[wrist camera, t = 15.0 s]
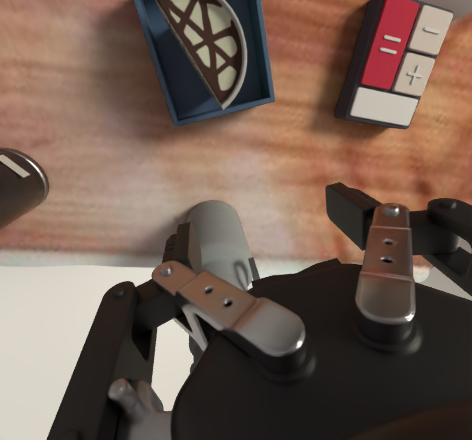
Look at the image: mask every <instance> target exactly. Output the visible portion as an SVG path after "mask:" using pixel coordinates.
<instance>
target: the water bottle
mask: <svg viewBox="0 0 472 440" xmlns="http://www.w3.org/2000/svg"><path fill="white" fill-rule="evenodd" d="M190 221H191V223H192V225H193V227H194V230H195V233H196V236H197V239H198V242H199V244H200V248H201V254H202V271H203V270H207V271H209V272H211V273H213V274H214V275H216V276H218V277H220V278H222V279H223V280H225V281H227V282H229V283H231V284H232V285H234V286H236V287H238V288H239V289H241V290H243V291H245V292H246V291H247V290H248V286H249V284H250V283H251V281H252V278H253V280H258V279H260V277H259V274H258V271H257V268H256V265H255V261H254V258H253V257H252V255H251V252H250V249H249V246H248V243H247V240H246V237H245V234H244V231H243V228H242V225H241V222H240V219H239V216H238V214H237V212H236V211H235V210H234V209H233V208H232V207H231V206H230V205H228V204H227V203H224V202H222V201H212V200H211V201H206V202H203V203H200V204H199V205H197V206H196V207H195V208H193V209H192V211H191V212H190V213H189V215H188V217H187V220H186V223H187V222H190ZM189 348H190V351H191V353H192V354H193V356H194V363H193V364H192V365H191V368H190V373H191V371H192V370H193V368H194V366H195V365H196V363H197V362H198V360H199V358H200V357H201V355H202V354H203V350H202V349H201V348H200V346H199V345H198V343H197V342H196V341H195V340H194V339H193V338H192V337H191V336H190V335H189Z"/></svg>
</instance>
